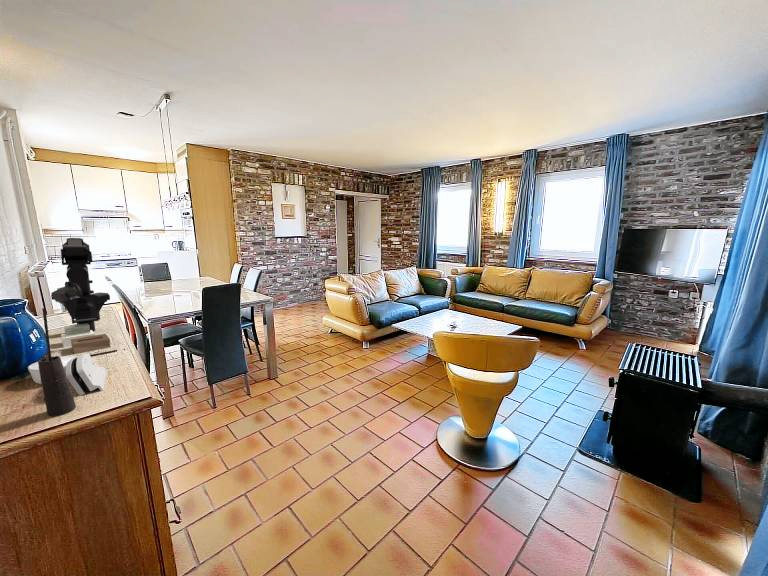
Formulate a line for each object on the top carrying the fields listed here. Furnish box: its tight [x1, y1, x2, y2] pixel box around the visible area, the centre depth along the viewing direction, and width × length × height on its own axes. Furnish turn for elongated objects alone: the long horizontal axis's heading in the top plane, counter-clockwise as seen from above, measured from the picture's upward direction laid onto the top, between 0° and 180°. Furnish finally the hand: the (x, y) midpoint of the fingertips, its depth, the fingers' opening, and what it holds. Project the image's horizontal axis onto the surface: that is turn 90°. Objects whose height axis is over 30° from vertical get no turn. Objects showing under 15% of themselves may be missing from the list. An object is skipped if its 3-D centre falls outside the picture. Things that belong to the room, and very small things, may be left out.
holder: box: [60, 330, 96, 348], centre depth 124 cm, size 7×9×5 cm
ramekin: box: [27, 355, 77, 385], centre depth 97 cm, size 11×11×5 cm
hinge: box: [66, 353, 108, 397], centre depth 93 cm, size 17×5×10 cm, turn 39°
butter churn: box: [37, 307, 77, 417], centre depth 78 cm, size 9×10×28 cm
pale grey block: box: [63, 323, 90, 337], centre depth 124 cm, size 4×7×7 cm, turn 139°
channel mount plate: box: [71, 333, 118, 358], centre depth 119 cm, size 14×13×5 cm
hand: (83, 317), depth 121 cm, fingers open, 9 cm apart
